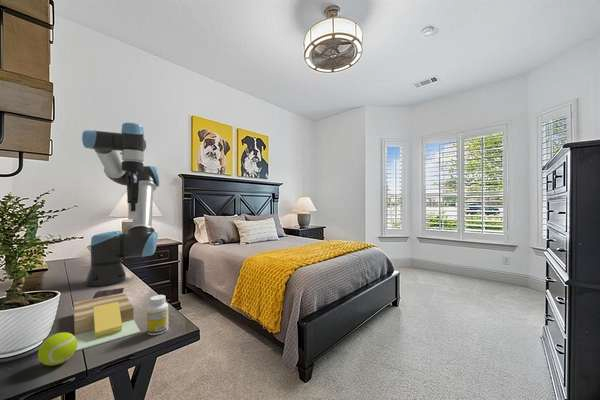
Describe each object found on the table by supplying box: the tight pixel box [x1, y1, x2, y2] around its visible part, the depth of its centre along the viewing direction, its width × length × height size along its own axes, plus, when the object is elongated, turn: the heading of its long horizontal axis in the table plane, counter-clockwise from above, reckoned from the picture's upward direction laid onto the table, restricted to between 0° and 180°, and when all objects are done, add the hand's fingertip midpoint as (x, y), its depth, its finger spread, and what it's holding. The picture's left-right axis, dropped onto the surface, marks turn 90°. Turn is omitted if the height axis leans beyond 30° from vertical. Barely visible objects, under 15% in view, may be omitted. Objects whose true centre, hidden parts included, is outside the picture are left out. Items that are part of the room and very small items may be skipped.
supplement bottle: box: [146, 294, 170, 336], centre depth 75 cm, size 5×5×10 cm
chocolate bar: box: [92, 287, 125, 299], centre depth 101 cm, size 9×1×18 cm
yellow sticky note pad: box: [93, 302, 122, 338], centre depth 75 cm, size 9×6×2 cm, turn 42°
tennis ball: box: [37, 331, 78, 367], centre depth 60 cm, size 7×7×7 cm
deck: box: [73, 292, 134, 336], centre depth 84 cm, size 18×14×4 cm
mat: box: [74, 319, 141, 352], centre depth 73 cm, size 10×14×1 cm
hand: (132, 219), depth 105 cm, fingers closed
